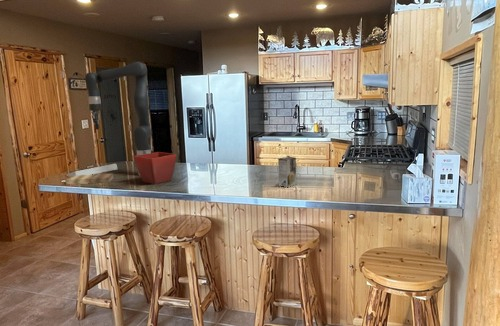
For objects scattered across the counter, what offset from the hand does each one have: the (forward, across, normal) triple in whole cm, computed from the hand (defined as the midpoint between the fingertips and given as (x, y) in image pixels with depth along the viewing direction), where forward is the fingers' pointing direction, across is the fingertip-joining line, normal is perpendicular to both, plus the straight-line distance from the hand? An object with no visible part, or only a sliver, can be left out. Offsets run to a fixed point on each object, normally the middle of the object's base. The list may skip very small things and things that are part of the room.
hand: (97, 129), depth 247 cm
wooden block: (+32, -18, -4) cm, 37 cm away
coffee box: (+32, -62, -116) cm, 135 cm away
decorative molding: (+33, +13, +9) cm, 36 cm away
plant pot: (+32, -30, -40) cm, 60 cm away
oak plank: (+32, -18, +8) cm, 38 cm away
